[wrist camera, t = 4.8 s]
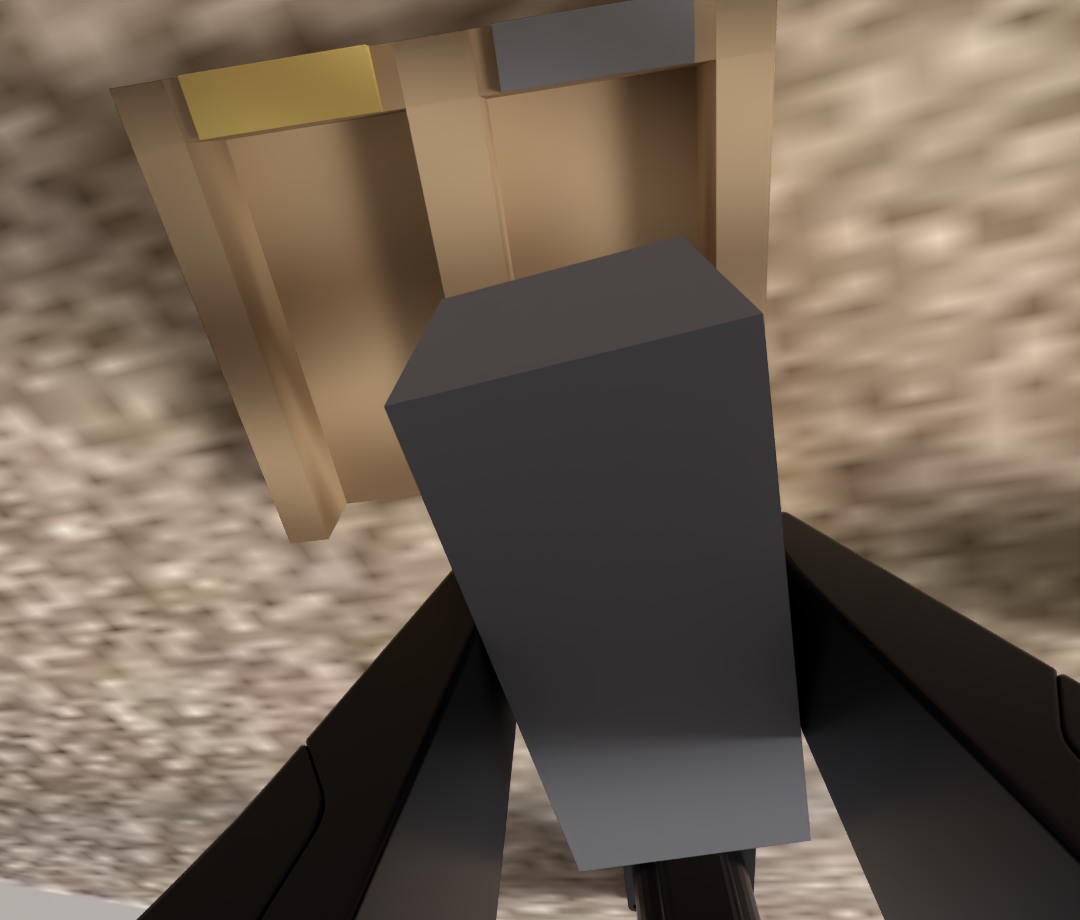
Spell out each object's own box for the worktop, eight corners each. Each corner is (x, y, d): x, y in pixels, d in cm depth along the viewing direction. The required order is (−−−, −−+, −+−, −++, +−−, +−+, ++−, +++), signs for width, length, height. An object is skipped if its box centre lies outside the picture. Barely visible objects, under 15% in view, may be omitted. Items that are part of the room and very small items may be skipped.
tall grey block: (741, 649, 11) (810, 840, 8) (571, 679, 11) (579, 871, 8) (681, 235, 7) (763, 312, 5) (441, 299, 8) (384, 406, 5)
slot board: (731, 445, 21) (761, 498, 18) (321, 491, 22) (286, 549, 19) (737, 1, 15) (783, -26, 12) (180, 93, 16) (100, 88, 13)
